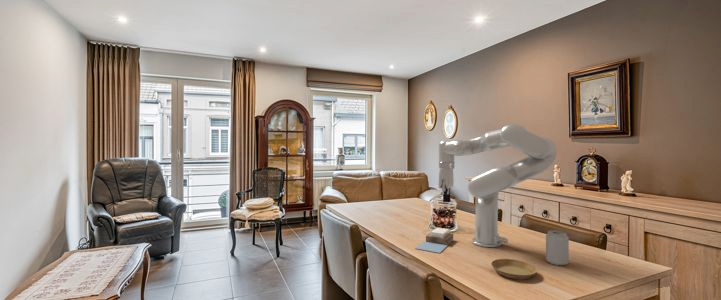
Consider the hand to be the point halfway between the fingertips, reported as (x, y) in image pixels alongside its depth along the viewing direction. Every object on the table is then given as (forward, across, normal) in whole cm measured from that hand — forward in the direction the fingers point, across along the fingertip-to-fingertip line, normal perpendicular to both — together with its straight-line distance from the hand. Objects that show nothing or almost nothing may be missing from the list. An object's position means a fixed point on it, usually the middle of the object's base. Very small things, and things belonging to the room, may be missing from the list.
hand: (446, 201), depth 159 cm
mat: (+17, +22, 0) cm, 28 cm away
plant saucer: (+18, +33, +34) cm, 51 cm away
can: (+17, +14, +48) cm, 52 cm away
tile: (+14, +10, 0) cm, 18 cm away
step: (+17, +11, 0) cm, 20 cm away
